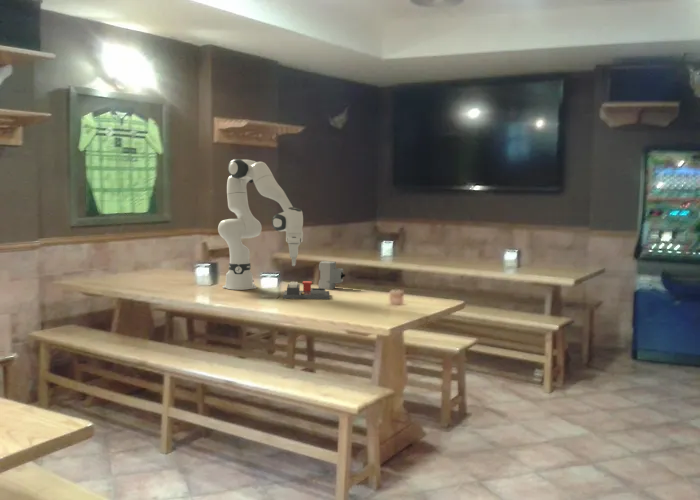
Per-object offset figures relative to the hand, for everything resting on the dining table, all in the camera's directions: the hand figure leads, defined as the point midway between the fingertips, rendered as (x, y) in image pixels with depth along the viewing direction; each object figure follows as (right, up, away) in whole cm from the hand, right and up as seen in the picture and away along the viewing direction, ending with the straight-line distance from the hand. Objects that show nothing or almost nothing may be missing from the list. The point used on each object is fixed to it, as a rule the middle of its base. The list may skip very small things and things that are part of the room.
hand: (293, 264), depth 360 cm
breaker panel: (+7, -17, +2) cm, 18 cm away
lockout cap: (+6, -16, +15) cm, 22 cm away
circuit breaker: (+19, -14, +33) cm, 40 cm away
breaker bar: (0, -13, +1) cm, 13 cm away
